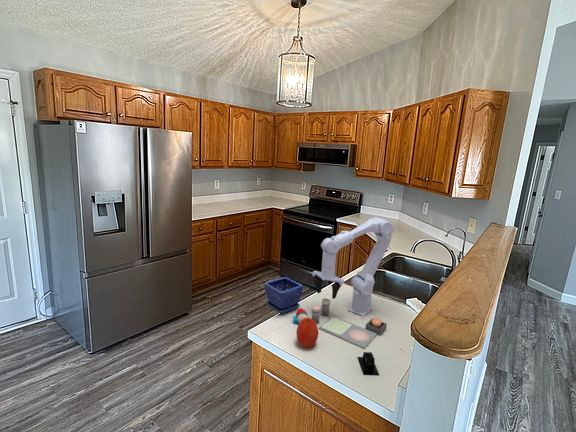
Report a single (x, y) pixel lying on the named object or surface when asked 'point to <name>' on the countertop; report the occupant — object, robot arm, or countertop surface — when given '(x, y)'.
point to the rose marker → (316, 313)
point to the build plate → (368, 364)
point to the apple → (307, 332)
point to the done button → (376, 322)
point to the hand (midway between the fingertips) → (326, 295)
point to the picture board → (348, 332)
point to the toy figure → (300, 316)
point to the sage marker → (325, 307)
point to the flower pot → (283, 294)
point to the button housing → (375, 329)
